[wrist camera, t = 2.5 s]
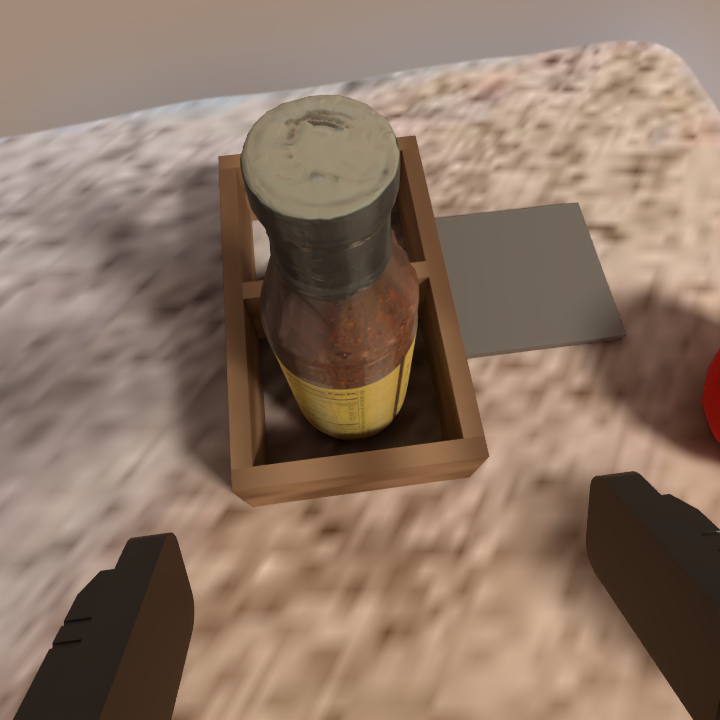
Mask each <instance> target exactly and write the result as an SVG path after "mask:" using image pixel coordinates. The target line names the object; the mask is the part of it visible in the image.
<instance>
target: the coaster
mask: <svg viewBox="0 0 720 720" xmlns="http://www.w3.org/2000/svg"><path fill="white" fill-rule="evenodd" d="M435 223H436V227H437V232H438V236H439V240H440V245H441V249H442V253H443V258H444V262H445V266H446V271H447V275H448V279H449V284H450V288H451V293H452V297H453V301H454V306H455V310H456V314H457V319H458V323H459V327H460V332H461V336H462V340H463V345H464V349H465V353H466V358H467V359H468V358H476V357H484V356H492V355H500V354H508V353H516V352H524V351H532V350H539V349H547V348H555V347H563V346H571V345H579V344H587V343H595V342H603V341H611V340H619V339H622V338H623V337H624V336H625V335H626V333H625V330H624V328H623V325H622V322H621V319H620V317H619V314H618V311H617V308H616V305H615V303H614V300H613V297H612V294H611V292H610V289H609V286H608V283H607V281H606V278H605V275H604V272H603V270H602V267H601V264H600V261H599V259H598V256H597V253H596V250H595V248H594V245H593V242H592V239H591V237H590V234H589V231H588V228H587V226H586V223H585V220H584V217H583V215H582V212H581V209H580V206H579V204H578V202H577V203H568V204H560V205H551V206H542V207H533V208H524V209H516V210H507V211H498V212H489V213H480V214H472V215H463V216H454V217H445V218H436V219H435Z"/></svg>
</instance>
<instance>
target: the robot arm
mask: <svg viewBox="0 0 720 720" xmlns="http://www.w3.org/2000/svg"><path fill="white" fill-rule="evenodd" d="M586 547H587V552H588V556H589V560H590V563H591V565H592V568H593V570H594V572H595V573H596V575H597V577H598V578H599V580H600V581H601V583H602V584H603V586H604V587H605V589H606V590H607V592H608V593H609V595H610V596H611V597H612V599H613V600H614V602H615V603H616V605H617V606H618V608H619V609H620V611H621V612H622V614H623V615H624V617H625V618H626V620H627V621H628V623H629V624H630V626H631V627H632V629H633V630H634V632H635V633H636V635H637V636H638V638H639V639H640V641H641V642H642V644H643V645H644V647H645V648H646V650H647V651H648V653H649V654H650V656H651V657H652V659H653V660H654V662H655V663H656V665H657V666H658V668H659V669H660V671H661V672H662V674H663V675H664V677H665V678H666V680H667V681H668V683H669V684H670V686H671V687H672V689H673V690H674V692H675V693H676V695H677V696H678V698H679V699H680V701H681V702H682V704H683V705H684V707H685V708H686V710H687V711H688V713H689V714H690V716H691V717H692V719H693V720H720V529H719V528H717V527H716V526H715V525H714V524H713V523H712V522H711V521H710V520H709V519H708V518H707V517H706V516H705V515H704V514H702V513H701V512H700V511H699V510H698V509H696V508H694V507H692V506H691V505H689V504H687V503H685V502H683V501H681V500H680V499H678V498H676V497H674V496H672V495H670V494H666V495H661V494H660V493H659V492H658V491H657V490H655V489H654V488H653V487H652V486H651V485H650V484H649V483H648V482H647V481H646V480H645V479H644V478H643V477H642V476H641V475H640V474H639V473H637V472H634V471H631V472H624V473H617V474H609V475H602V476H596V477H594V478H593V479H592V481H591V484H590V494H589V507H588V520H587V533H586ZM193 625H194V600H193V594H192V590H191V587H190V583H189V580H188V576H187V573H186V569H185V565H184V562H183V558H182V555H181V551H180V548H179V544H178V541H177V538H176V536H175V535H174V534H173V533H164V534H156V535H149V536H142V537H134V538H130V539H129V540H128V541H127V543H126V545H125V547H124V549H123V551H122V554H121V556H120V558H119V560H118V562H117V565H116V567H115V569H111V570H104V571H100V572H99V573H98V574H97V575H96V576H95V577H94V578H93V579H92V580H91V581H90V582H89V583H88V584H87V585H86V587H85V588H84V589H83V590H82V591H81V592H80V593H79V594H78V595H77V597H76V599H75V601H74V602H73V604H72V606H71V608H70V610H69V612H68V614H67V616H66V618H65V620H64V626H61V628H60V630H59V632H58V633H57V635H56V637H55V639H54V641H53V643H52V644H53V647H52V649H49V651H48V653H47V655H46V657H45V659H44V661H43V663H42V665H41V666H40V668H39V670H38V672H37V674H36V676H35V678H34V680H33V682H32V684H31V686H30V688H29V690H28V692H27V694H26V696H25V697H24V699H23V701H22V703H21V705H20V707H19V709H18V711H17V713H16V715H15V717H14V719H13V720H171V718H172V714H173V710H174V706H175V702H176V697H177V693H178V689H179V685H180V681H181V677H182V672H183V668H184V664H185V660H186V656H187V652H188V648H189V643H190V639H191V635H192V631H193Z"/></svg>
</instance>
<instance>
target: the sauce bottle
mask: <svg viewBox="0 0 720 720" xmlns="http://www.w3.org/2000/svg"><path fill="white" fill-rule="evenodd" d="M240 167H241V173H242V177H243V180H244V185H245V190H246V192H247V196H248V200H249V203H250V207H251V209H252V211H253V213H254V214H255V215H256V217H257V218H258V220H259V221H260V222H261V224H262V225H263V226H264V227H265V229H266V233H267V235H268V237H269V240H270V253H271V256H270V259H269V263H268V266H267V270H266V273H265V277H264V281H263V284H262V289H261V293H260V313H261V319H262V324H263V328H264V331H265V334H266V336H267V339H268V341H269V343H270V346H271V348H272V350H273V352H274V354H275V356H276V358H277V360H278V362H279V364H280V366H281V368H282V370H283V373H284V375H285V377H286V379H287V381H288V383H289V386H290V388H291V390H292V392H293V395H294V397H295V399H296V401H297V404H298V406H299V408H300V410H301V412H302V413H303V415H304V416H305V417H306V419H307V420H308V421H309V422H310V423H311V424H312V425H313V426H314V427H315V428H316V429H317V430H319V431H320V432H322V433H324V434H326V435H328V436H329V437H334V438H336V439H340V440H347V441H351V442H358V441H363V440H365V439H367V438H370V437H373V436H375V435H376V434H378V433H380V432H381V431H382V430H384V429H385V428H386V427H387V426H389V425H390V424H391V423H392V422H394V420H395V419H396V417H397V415H398V413H399V411H400V409H401V407H402V405H403V402H404V399H405V395H406V391H407V386H408V380H409V374H410V367H411V361H412V355H413V350H414V344H415V337H416V331H417V325H418V315H417V310H418V303H419V285H418V278H417V273H416V270H415V268H414V267H413V266H412V265H411V264H410V262H409V259H408V256H407V252H406V251H405V250H404V249H403V248H402V247H401V246H400V245H398V243H397V240H396V237H395V234H394V231H393V230H392V229H391V226H390V225H391V210H392V208H393V206H394V204H395V201H396V197H397V193H398V190H399V181H400V151H399V146H398V140H397V138H396V136H395V134H394V133H393V130H392V128H391V125H390V124H389V123H388V122H387V121H386V120H385V119H384V117H383V116H382V115H380V114H379V113H378V112H376V111H375V110H374V109H373V108H371V107H370V106H368V105H367V104H365V103H362V102H360V101H357V100H354V99H351V98H348V97H343V96H340V95H317V96H309V97H305V98H301V99H298V100H294V101H291V102H287V103H283V104H281V105H279V106H278V107H276V108H274V109H272V110H270V111H268V112H266V113H265V114H264V115H263V116H262V117H261V118H260V119H259V120H258V121H257V122H256V123H255V124H254V125H253V127H252V128H251V130H250V131H249V133H248V135H247V138H246V141H245V143H244V146H243V151H242V154H241V156H240Z"/></svg>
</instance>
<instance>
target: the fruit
mask: <svg viewBox="0 0 720 720" xmlns="http://www.w3.org/2000/svg"><path fill="white" fill-rule="evenodd" d="M702 407H703V410H704V413H705V416H706V418H707V421H708V424H709V427H710V429H711V431H712V433H713V435H714V436H715V438H716V439H717V441H718V442H719V444H720V349H719V351H718V353H717V354H716V356H715V357H714V359H713V361H712V362H711V364H710V366H709V368H708V372H707V376H706V380H705V384H704V389H703V395H702Z"/></svg>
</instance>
